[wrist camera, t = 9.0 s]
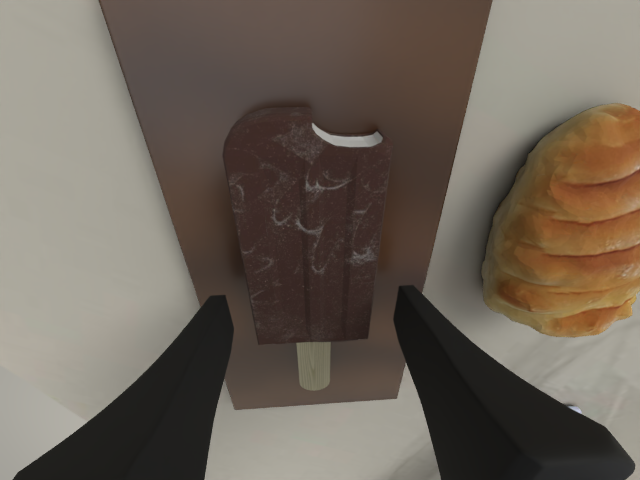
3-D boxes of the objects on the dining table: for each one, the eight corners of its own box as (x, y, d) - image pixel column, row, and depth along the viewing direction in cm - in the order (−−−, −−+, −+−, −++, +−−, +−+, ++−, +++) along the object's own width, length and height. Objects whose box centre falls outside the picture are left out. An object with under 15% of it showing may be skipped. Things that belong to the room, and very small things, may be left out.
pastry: (484, 126, 11) (560, 157, 8) (671, 78, 11) (832, 91, 8) (471, 298, 16) (514, 360, 13) (598, 271, 16) (674, 328, 13)
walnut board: (394, 387, 21) (397, 399, 20) (236, 398, 20) (234, 410, 20) (486, -30, 9) (502, -36, 8) (102, -28, 8) (85, -34, 8)
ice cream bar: (356, 371, 18) (385, 103, 10) (361, 397, 17) (399, 113, 8) (270, 376, 18) (224, 106, 10) (268, 404, 16) (211, 116, 8)
